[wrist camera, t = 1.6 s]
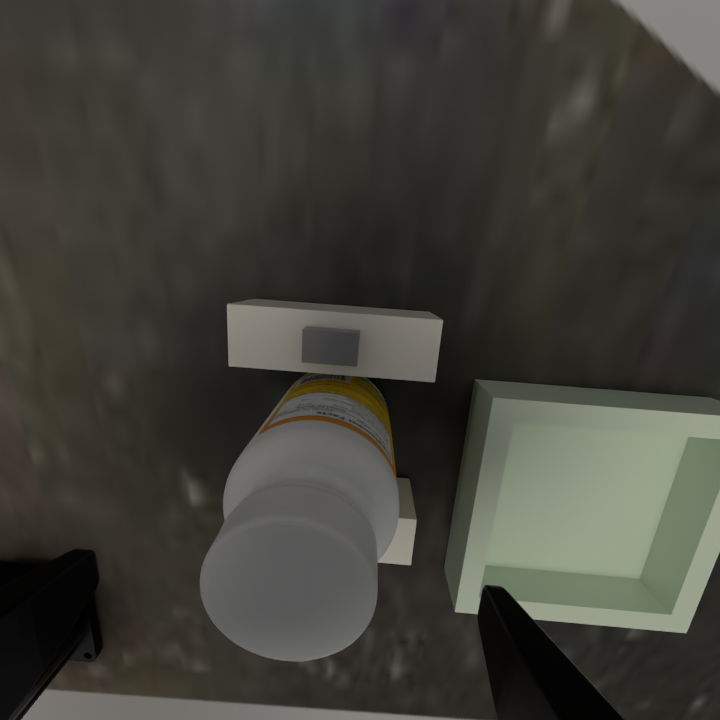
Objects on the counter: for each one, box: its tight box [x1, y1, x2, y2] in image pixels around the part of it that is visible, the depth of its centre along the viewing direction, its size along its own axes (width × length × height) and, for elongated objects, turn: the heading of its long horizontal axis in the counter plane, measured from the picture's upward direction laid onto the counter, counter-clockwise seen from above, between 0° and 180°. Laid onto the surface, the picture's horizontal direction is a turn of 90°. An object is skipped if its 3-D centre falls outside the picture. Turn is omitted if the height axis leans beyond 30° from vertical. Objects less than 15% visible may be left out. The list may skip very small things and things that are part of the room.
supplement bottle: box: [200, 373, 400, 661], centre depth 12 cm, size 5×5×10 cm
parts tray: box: [444, 379, 720, 633], centre depth 16 cm, size 11×11×2 cm
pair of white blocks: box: [227, 299, 443, 565], centre depth 15 cm, size 11×8×4 cm
